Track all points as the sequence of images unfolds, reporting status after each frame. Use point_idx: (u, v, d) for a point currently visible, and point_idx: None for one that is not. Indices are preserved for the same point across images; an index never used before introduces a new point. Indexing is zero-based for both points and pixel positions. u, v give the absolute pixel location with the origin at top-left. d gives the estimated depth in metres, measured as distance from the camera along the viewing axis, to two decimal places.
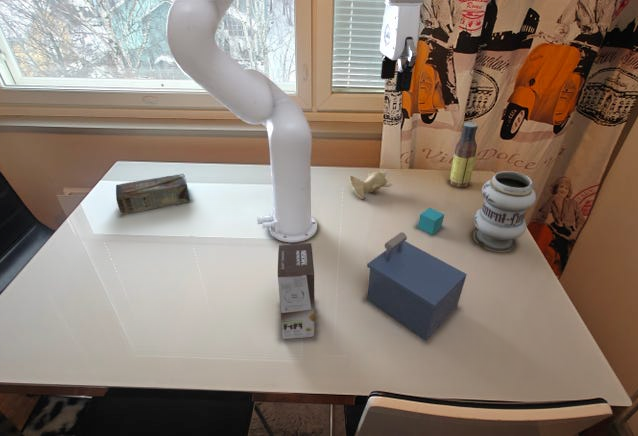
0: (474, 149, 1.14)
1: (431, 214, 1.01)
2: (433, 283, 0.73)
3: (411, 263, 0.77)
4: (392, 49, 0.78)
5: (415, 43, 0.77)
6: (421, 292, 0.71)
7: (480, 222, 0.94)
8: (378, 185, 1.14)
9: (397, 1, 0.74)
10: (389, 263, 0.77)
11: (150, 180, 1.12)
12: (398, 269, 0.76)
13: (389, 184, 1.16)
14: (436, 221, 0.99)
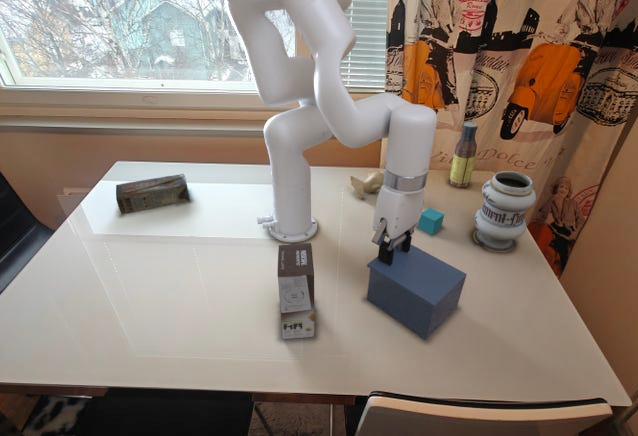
0: (474, 149, 1.14)
1: (431, 214, 1.01)
2: (433, 283, 0.73)
3: (411, 263, 0.77)
4: None
5: (390, 227, 0.70)
6: (421, 292, 0.71)
7: (480, 222, 0.94)
8: (378, 185, 1.14)
9: (384, 180, 0.69)
10: None
11: (150, 180, 1.12)
12: (398, 269, 0.76)
13: None
14: (436, 221, 0.99)
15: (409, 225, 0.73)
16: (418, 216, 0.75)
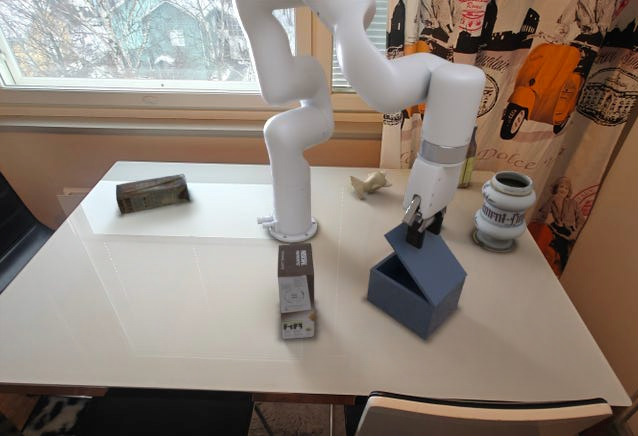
0: (474, 149, 1.14)
1: None
2: (439, 279, 0.71)
3: (425, 245, 0.73)
4: None
5: (424, 205, 0.62)
6: (427, 287, 0.69)
7: (480, 222, 0.94)
8: (378, 185, 1.14)
9: (419, 152, 0.61)
10: None
11: (150, 180, 1.12)
12: (413, 250, 0.71)
13: (389, 184, 1.16)
14: None
15: (443, 204, 0.66)
16: (453, 194, 0.67)
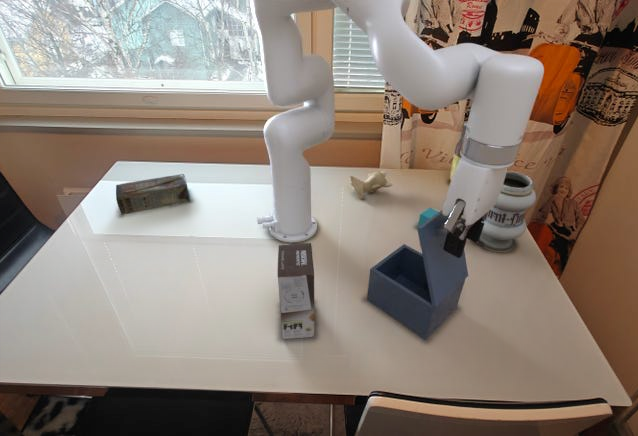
0: None
1: (431, 214, 1.01)
2: (447, 279, 0.70)
3: None
4: None
5: (469, 210, 0.56)
6: (436, 288, 0.68)
7: None
8: (378, 185, 1.14)
9: (463, 152, 0.56)
10: (435, 236, 0.66)
11: (150, 180, 1.12)
12: (436, 249, 0.67)
13: (389, 184, 1.16)
14: None
15: (487, 209, 0.60)
16: (496, 199, 0.62)
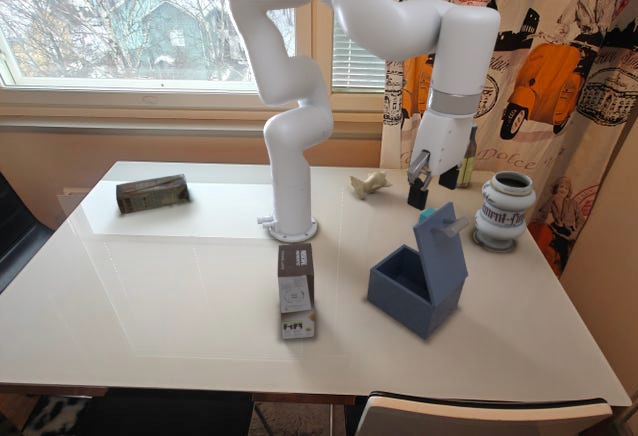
0: (474, 149, 1.14)
1: None
2: (446, 279, 0.70)
3: (444, 243, 0.69)
4: None
5: (433, 160, 0.59)
6: (435, 288, 0.68)
7: (480, 222, 0.94)
8: (378, 185, 1.14)
9: (428, 104, 0.58)
10: (431, 236, 0.67)
11: (150, 180, 1.12)
12: (433, 248, 0.67)
13: (389, 184, 1.16)
14: None
15: (453, 162, 0.63)
16: (463, 153, 0.64)
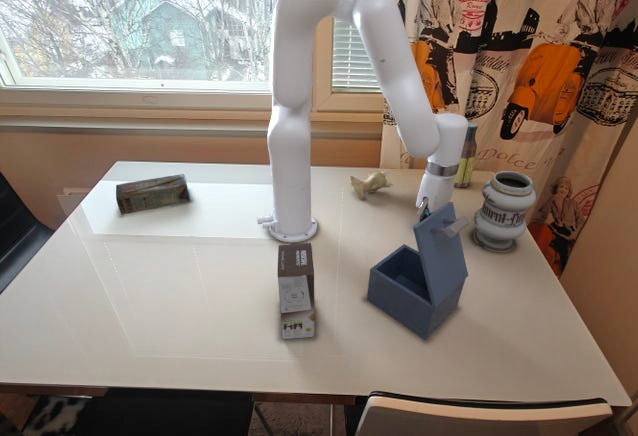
0: (474, 149, 1.14)
1: None
2: (446, 279, 0.70)
3: (444, 243, 0.69)
4: None
5: (430, 203, 0.94)
6: (435, 288, 0.68)
7: (480, 222, 0.94)
8: (378, 185, 1.14)
9: (426, 169, 0.93)
10: (431, 236, 0.67)
11: (150, 180, 1.12)
12: (433, 248, 0.67)
13: (389, 184, 1.16)
14: None
15: (443, 203, 0.98)
16: (450, 196, 0.99)
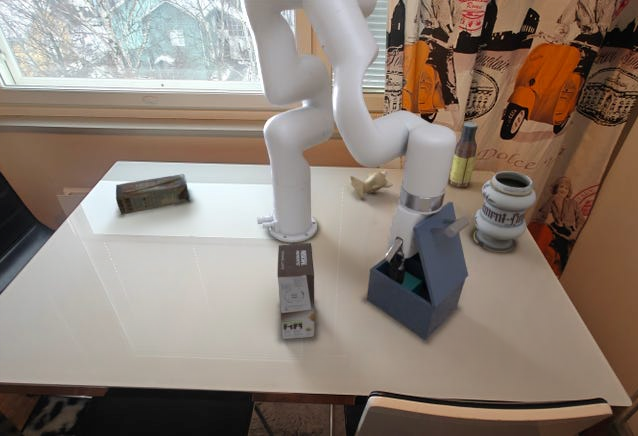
0: (474, 149, 1.14)
1: (405, 281, 0.79)
2: (446, 279, 0.70)
3: (444, 243, 0.69)
4: None
5: (406, 246, 0.69)
6: (435, 288, 0.68)
7: (480, 222, 0.94)
8: (378, 186, 1.14)
9: (400, 199, 0.68)
10: (431, 236, 0.67)
11: (150, 180, 1.12)
12: (433, 248, 0.67)
13: (389, 185, 1.16)
14: None
15: None
16: None
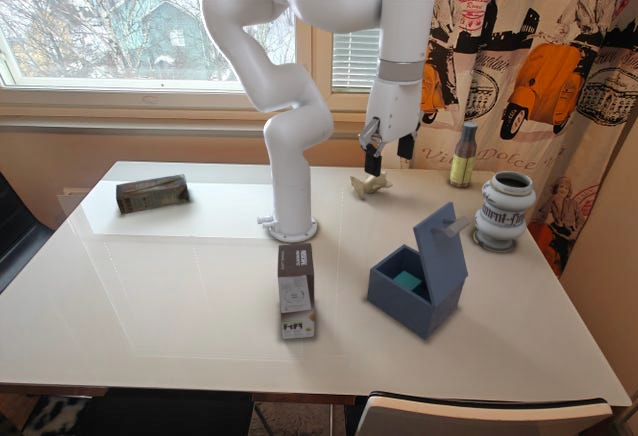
0: (474, 149, 1.14)
1: (405, 281, 0.79)
2: (446, 279, 0.70)
3: (444, 243, 0.69)
4: None
5: (383, 126, 0.63)
6: (435, 288, 0.68)
7: (480, 222, 0.94)
8: (378, 186, 1.14)
9: (376, 74, 0.62)
10: (431, 236, 0.67)
11: (150, 180, 1.12)
12: (433, 248, 0.67)
13: (389, 185, 1.16)
14: None
15: (405, 130, 0.67)
16: (415, 122, 0.68)
